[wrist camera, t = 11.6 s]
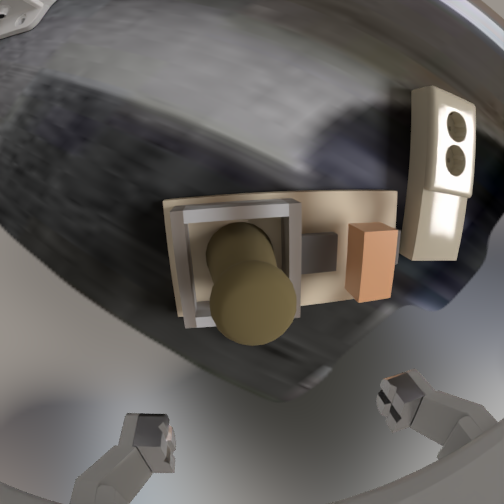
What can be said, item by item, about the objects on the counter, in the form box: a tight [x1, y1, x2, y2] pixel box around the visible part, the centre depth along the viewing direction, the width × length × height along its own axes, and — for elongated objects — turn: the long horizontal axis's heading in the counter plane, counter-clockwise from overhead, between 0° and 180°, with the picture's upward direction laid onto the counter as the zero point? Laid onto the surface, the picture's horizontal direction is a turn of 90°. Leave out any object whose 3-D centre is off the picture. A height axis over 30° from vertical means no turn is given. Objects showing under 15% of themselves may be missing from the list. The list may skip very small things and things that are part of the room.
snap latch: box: [345, 222, 398, 303], centre depth 24 cm, size 3×6×3 cm, turn 2°
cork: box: [206, 222, 297, 346], centre depth 21 cm, size 6×6×11 cm
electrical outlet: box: [399, 86, 476, 261], centre depth 26 cm, size 7×4×18 cm
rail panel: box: [163, 190, 401, 328], centre depth 26 cm, size 22×11×4 cm, turn 92°
